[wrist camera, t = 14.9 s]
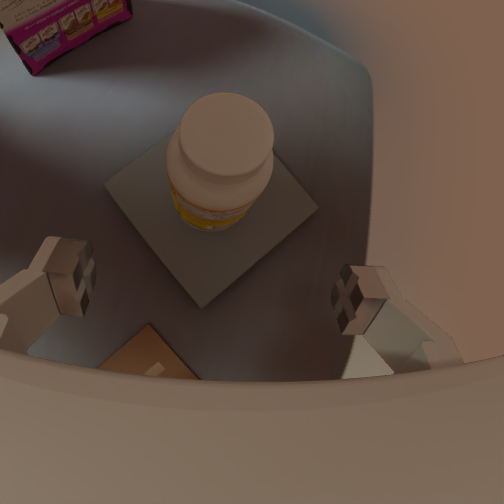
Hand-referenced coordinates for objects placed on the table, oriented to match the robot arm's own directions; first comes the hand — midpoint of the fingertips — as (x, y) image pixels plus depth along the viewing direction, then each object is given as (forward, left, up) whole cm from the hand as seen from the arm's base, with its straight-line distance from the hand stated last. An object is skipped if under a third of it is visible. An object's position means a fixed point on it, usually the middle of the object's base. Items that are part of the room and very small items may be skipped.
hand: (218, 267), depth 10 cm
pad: (-4, +4, -12) cm, 14 cm away
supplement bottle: (-4, +4, -12) cm, 13 cm away
